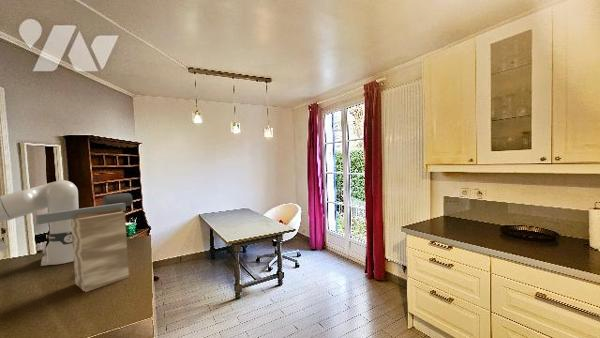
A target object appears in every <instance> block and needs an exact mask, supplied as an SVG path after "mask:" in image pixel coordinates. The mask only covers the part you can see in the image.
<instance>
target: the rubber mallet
mask: <svg viewBox="0 0 600 338" xmlns="http://www.w3.org/2000/svg"><path fill="white" fill-rule="evenodd" d="M118 203H125V204H126V207H128V206H129V207H130V206H131V205H132V204H133V195H132V194H131V193H129V192H125V193H114V194H109V195H104V196H103V197H102V206H103V205H111V204H118Z"/></svg>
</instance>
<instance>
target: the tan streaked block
mask: <svg viewBox="0 0 600 338" xmlns="http://www.w3.org/2000/svg"><path fill="white" fill-rule="evenodd" d="M126 225H127V224H126V211H122V209H115V210H108V211H101V212H94V213H88V214H81V215H77V218H75V219H71V229H72V243H73V257H74V261H73V269H74V282H75V286H77V287H79V289H81V290H82V291H83V292H84V291H85V292H84V293H87V292H90V291H92V290H93V291H94V290H96V289H98V288H101V287H105V286H107V285H110V284H113V283H117V282H119V281H121V280H125V279H128V278H130V273H129V272H130V271H129V270H130V269H129V257H128V255H129V253H128V242H127V226H126Z"/></svg>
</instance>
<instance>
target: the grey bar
mask: <svg viewBox="0 0 600 338" xmlns="http://www.w3.org/2000/svg"><path fill="white" fill-rule="evenodd" d="M126 208H127V206H126V204H125V203H118V204H111V205H103V204H102V205H98V206H97V205H96V206H91V207H90V206H89V207H82V208H79V209H74V210H66V211H59V212H51V213H48V212H44V213H38V214H35V224H37V225H42V224H49V223H50V222H56V221H63V220H69V219H75V218H77V215H81V214H88V213H94V212H101V211H108V210H115V209H122V212H126V211H127V210H126Z"/></svg>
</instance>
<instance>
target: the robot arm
mask: <svg viewBox="0 0 600 338" xmlns="http://www.w3.org/2000/svg"><path fill="white" fill-rule="evenodd" d="M79 207H80V206H79V190H78V187H77V186H76V185H75V184H74V183H73V182H72V181H69V180H65V179H63V180H60V179H59V180H57V181H52V182H48V183H45V184H41V185H38V186H34V187H30V188H27V189H22V190H20V191H16V192H11V193H7V194H4V195H1V196H0V223H3V222H7V221H11V220H14V219H18V218H21V217H23V216H24V217H25V216H27V215H29V214H33V213H37V212H38V211H39V212H40V211H43V210H45V209H47V211H48V212H47V213H51V212H59V211H66V210H74V209H80V208H79ZM48 224H49V233H48V241H49V242H48V244H47V245H46V247H45V248H43V249H42V254H43V256H42V257H41V262H40V266H41V267H43V266H50V265H52V266H53V265H62V264H63V265H64V264H67V263H71V262H74V257H73V243H72V229H71V219H69V220H63V221H56V222H50V223H48ZM5 249H8V245H7V243H6V242H4V240H3V239H2V238H0V253H1V252H3V251H4V250H5Z"/></svg>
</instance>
